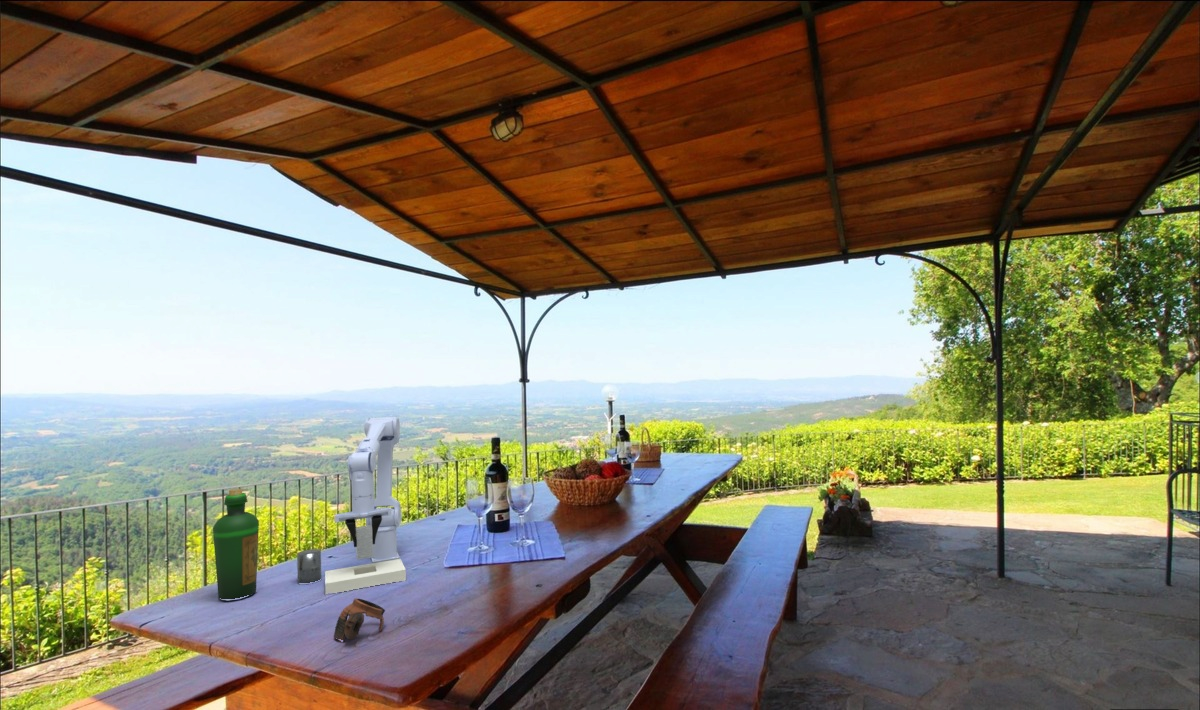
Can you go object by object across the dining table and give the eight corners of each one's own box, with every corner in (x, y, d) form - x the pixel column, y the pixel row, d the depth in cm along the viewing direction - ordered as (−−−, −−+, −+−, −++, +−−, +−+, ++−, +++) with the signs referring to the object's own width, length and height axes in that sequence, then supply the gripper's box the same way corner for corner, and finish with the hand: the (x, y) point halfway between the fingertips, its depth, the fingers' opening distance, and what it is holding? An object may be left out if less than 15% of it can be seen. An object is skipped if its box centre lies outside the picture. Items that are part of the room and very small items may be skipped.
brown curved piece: (334, 632, 128) (353, 594, 132) (374, 647, 129) (392, 609, 132) (322, 639, 117) (343, 598, 120) (366, 656, 118) (385, 615, 121)
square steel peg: (356, 556, 162) (355, 527, 162) (371, 553, 164) (371, 525, 164) (357, 559, 158) (356, 530, 159) (373, 557, 160) (372, 527, 160)
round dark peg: (298, 579, 165) (297, 551, 165) (321, 575, 167) (320, 547, 168) (297, 586, 159) (296, 556, 160) (321, 581, 162) (320, 552, 162)
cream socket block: (325, 582, 162) (325, 571, 162) (400, 569, 170) (400, 558, 170) (325, 595, 151) (325, 583, 151) (406, 580, 159) (405, 569, 160)
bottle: (266, 594, 154) (264, 488, 155) (219, 607, 146) (218, 495, 147) (253, 586, 161) (251, 484, 162) (208, 598, 153) (206, 491, 154)
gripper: (334, 501, 155) (335, 552, 154) (392, 494, 161) (393, 543, 160) (334, 497, 161) (335, 546, 161) (389, 490, 167) (390, 538, 167)
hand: (364, 544), depth 161 cm, fingers closed on square steel peg, 4 cm apart
